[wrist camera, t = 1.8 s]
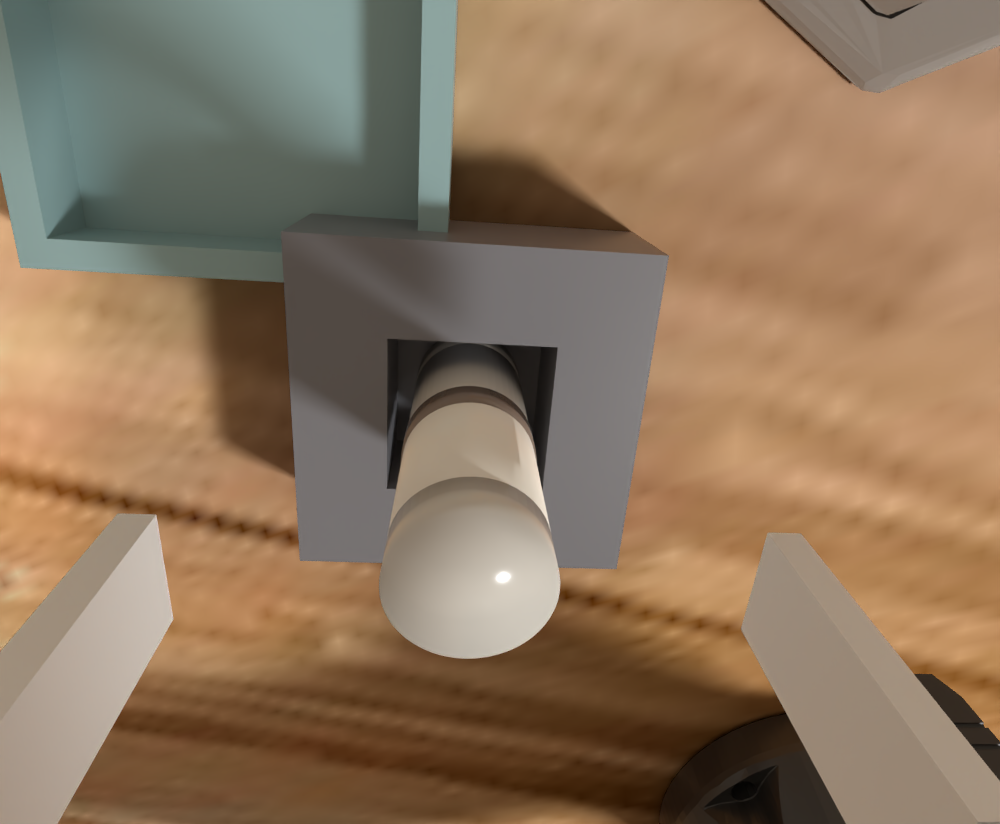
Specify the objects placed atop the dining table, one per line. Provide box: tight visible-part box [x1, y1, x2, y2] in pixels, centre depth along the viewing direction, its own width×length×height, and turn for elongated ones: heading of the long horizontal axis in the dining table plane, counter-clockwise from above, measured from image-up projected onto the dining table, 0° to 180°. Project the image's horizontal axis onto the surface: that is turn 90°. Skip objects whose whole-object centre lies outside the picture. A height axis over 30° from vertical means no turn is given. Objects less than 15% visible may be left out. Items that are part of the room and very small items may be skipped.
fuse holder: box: [281, 213, 669, 569], centre depth 25 cm, size 12×12×5 cm
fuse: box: [379, 341, 560, 659], centre depth 21 cm, size 4×4×13 cm
